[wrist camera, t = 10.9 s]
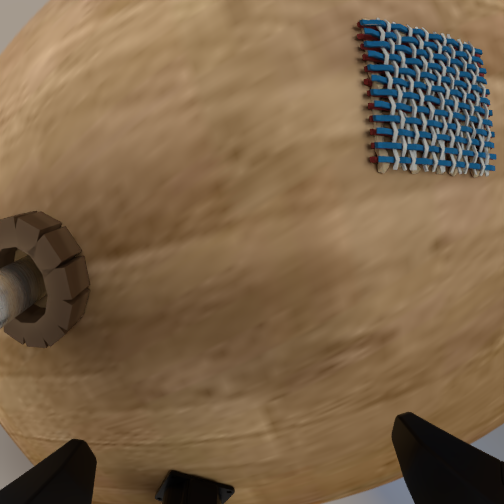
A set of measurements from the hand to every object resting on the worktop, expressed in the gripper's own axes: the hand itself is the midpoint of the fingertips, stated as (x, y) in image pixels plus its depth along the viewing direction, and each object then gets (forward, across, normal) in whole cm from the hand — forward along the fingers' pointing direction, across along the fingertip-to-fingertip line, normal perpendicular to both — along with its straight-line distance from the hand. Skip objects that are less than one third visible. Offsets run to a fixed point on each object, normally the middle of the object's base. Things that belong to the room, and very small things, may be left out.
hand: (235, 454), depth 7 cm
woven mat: (+13, -14, -11) cm, 22 cm away
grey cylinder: (+12, +14, -3) cm, 18 cm away
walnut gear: (+12, +14, -3) cm, 18 cm away
